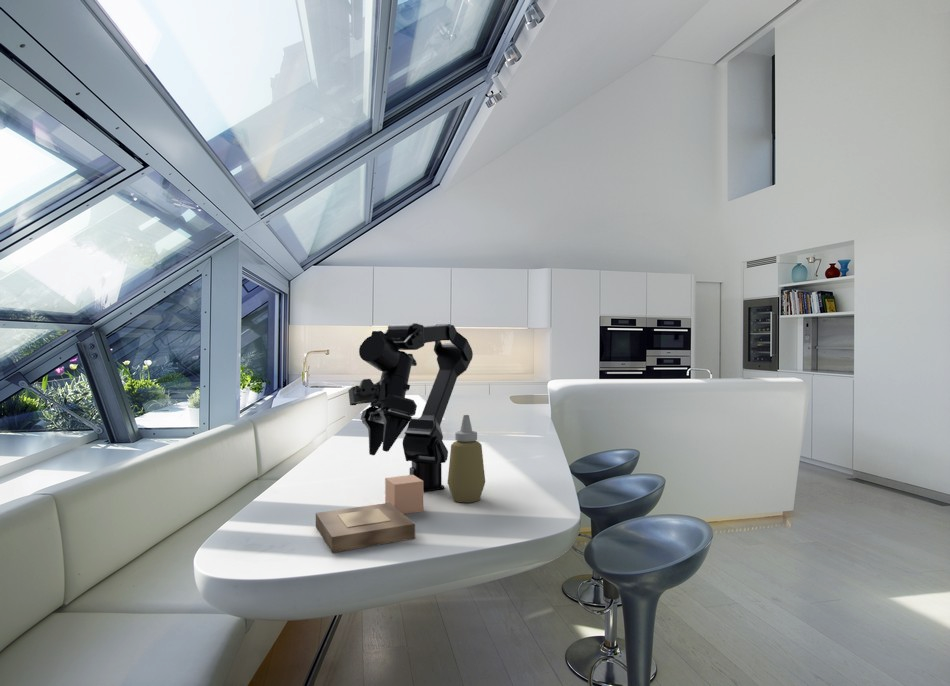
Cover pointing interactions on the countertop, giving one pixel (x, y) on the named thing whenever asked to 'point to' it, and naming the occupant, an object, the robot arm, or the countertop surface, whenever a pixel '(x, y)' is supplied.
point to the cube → (404, 493)
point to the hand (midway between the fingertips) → (378, 453)
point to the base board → (363, 526)
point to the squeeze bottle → (466, 465)
